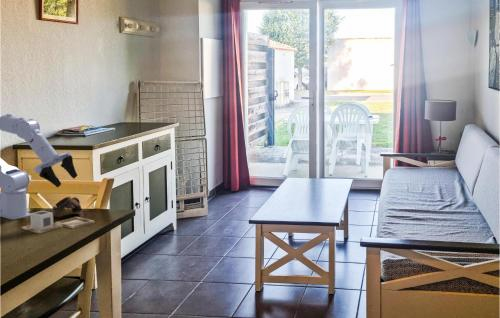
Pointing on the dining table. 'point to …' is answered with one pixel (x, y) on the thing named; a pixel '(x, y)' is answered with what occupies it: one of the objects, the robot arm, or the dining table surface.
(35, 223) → the white marked cube
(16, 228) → the dining table surface
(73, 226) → the tray far
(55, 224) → the tray near
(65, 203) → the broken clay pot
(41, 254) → the dining table surface
